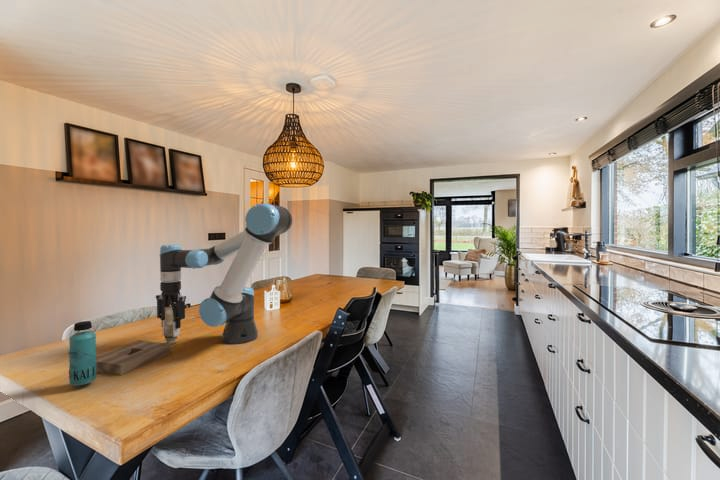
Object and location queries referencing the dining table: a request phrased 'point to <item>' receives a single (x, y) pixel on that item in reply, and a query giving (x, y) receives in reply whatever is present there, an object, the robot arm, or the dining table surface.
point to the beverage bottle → (82, 355)
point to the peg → (169, 326)
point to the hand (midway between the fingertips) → (171, 335)
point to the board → (130, 356)
